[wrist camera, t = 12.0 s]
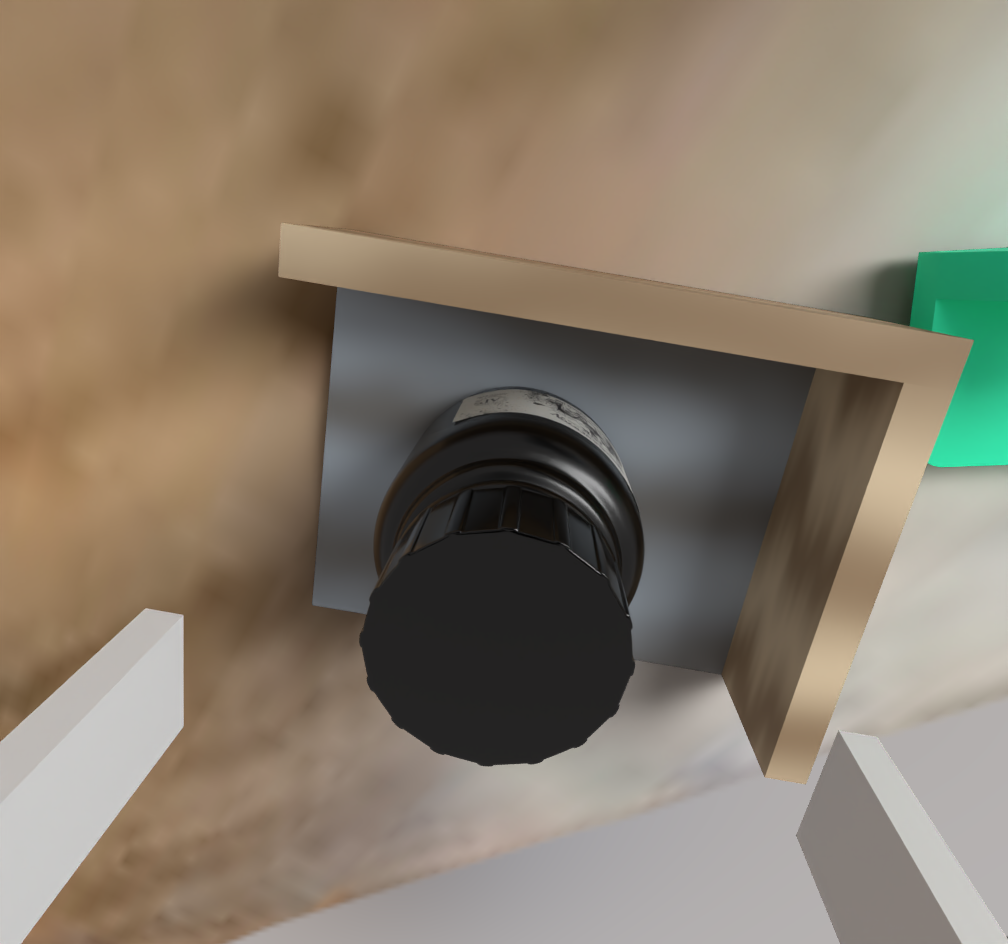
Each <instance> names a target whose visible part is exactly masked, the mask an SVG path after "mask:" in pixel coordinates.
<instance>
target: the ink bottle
mask: <svg viewBox="0 0 1008 944" xmlns="http://www.w3.org/2000/svg"><path fill="white" fill-rule="evenodd" d="M373 553H374V562H375V568H376V572H377V576H378V581H377V583H376V585H375V587H374V589H373V591H372V593H371V595H370V598H369V602H370V604H369V608H368V611H367V615H366V619H365V623H364V627H363V629H362V631H361V633H360V638H359V643H360V646H361V647H362V650H363V656H364V662H365V667H366V671H367V675H368V677H367V683H368V685H369V688H370V689H371V691H373V692H375V694H376V695H377V697H378V699H379V700H380V701H381V703H382V704H383V706H384V707H385V709H386V710H387V711H388V713H389V714H390V716H391V719H392V721H393V722H394V723H395V724H396V725H397V726H398V727H399V728H401V729H404V730H406V731H407V732H408V733H410V734H411V735H413V736H414V737H416V738H417V739H419V740H420V741H422V742H423V743H425V744H426V745H428V746H429V747H430V749H431V750H433V751H434V752H436V753H438V754H442V755H444V754H446V755H450V756H453V757H457V758H460V759H464V760H467V761H471V762H475V763H477V764H479V765H481V766H493V765H505V764H523V763H527V764H537V763H540V762H542V761H543V760H544V759H546V758H549V757H551V756H554V755H557V754H559V753H561V752H564V751H566V750H569V749H571V748H577V747H579V746H581V745H583V744H584V743H585V742H586V741H587V738H588V737H589V736H591V735H592V734H593V733H594V732H595V731H596V730H597V729H598V728H599V727H600V726H601V725H602V724H603V723H604V722H605V721H606V720H607V719H609V718H610V717H613V716H614V715H615V714H616V712H617V711H618V709H619V702H620V700H621V698H622V696H623V693H624V691H625V689H626V686H627V684H628V681H629V678H630V677H631V676H632V675H633V673H634V669H635V661H634V657H633V647H632V633H631V630H632V628H633V624H632V620H631V616H630V612H629V606H630V604H631V602H632V600H633V598H634V596H635V593H636V591H637V588H638V586H639V583H640V579H641V576H642V571H643V565H644V555H645V545H644V534H643V528H642V523H641V519H640V514H639V509H638V506H637V503H636V500H635V498H634V496H633V493H632V490H631V487H630V484H629V482H628V479H627V477H626V474H625V471H624V468H623V465H622V463H621V460H620V458H619V456H618V454H617V452H616V451H615V449H614V447H613V445H612V443H611V442H610V440H609V439H608V437H607V436H606V434H605V433H604V432H603V430H602V429H601V428H600V427H599V425H598V424H597V423H596V422H595V421H594V420H593V419H592V418H591V417H590V416H588V415H587V414H586V413H585V412H584V411H582V410H581V409H580V408H578V407H577V406H575V405H574V404H572V403H571V402H569V401H567V400H565V399H563V398H561V397H559V396H557V395H554V394H552V393H549V392H546V391H543V390H539V389H535V388H530V387H521V386H507V387H498V388H492V389H488V390H485V391H481V392H478V393H476V394H473V395H471V396H469V397H466V398H464V399H463V400H461V401H459V402H457V403H456V404H454V405H452V406H451V407H450V408H448V409H447V410H446V411H444V412H443V413H442V414H441V415H440V416H438V417H437V418H436V419H435V420H434V421H433V422H432V423H431V425H430V426H429V427H428V428H427V429H426V431H425V432H424V433H423V435H422V436H421V438H420V439H419V441H418V442H417V444H416V445H415V447H414V448H413V450H412V452H411V453H410V455H409V456H408V458H407V459H406V461H405V462H404V464H403V466H402V467H401V469H400V470H399V472H398V473H397V475H396V476H395V478H394V480H393V481H392V483H391V485H390V487H389V488H388V490H387V492H386V494H385V496H384V499H383V501H382V503H381V506H380V509H379V512H378V515H377V519H376V524H375V530H374V539H373Z"/></svg>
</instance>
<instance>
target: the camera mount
mask: <svg viewBox="0 0 1008 944" xmlns="http://www.w3.org/2000/svg"><path fill="white" fill-rule="evenodd" d="M910 327H915V328H919V329H924V330H929V331H934V332H938V333H943V334H948V335H952V336H957V337H962V338H966V339H971V340H974V342H973V345H972V347H971V350H970V353H969V355H968V358H967V361H966V363H965V366H964V368H963V371H962V374H961V376H960V379H959V382H958V384H957V387H956V390H955V392H954V395H953V397H952V400H951V403H950V405H949V408H948V411H947V413H946V416H945V419H944V421H943V424H942V426H941V429H940V432H939V434H938V437H937V440H936V442H935V445H934V448H933V450H932V453H931V455H930V458H929V461H928V464H930V465H933V466H937V467H959V466H989V465H1008V248H990V249H972V250H953V251H935V252H919V256H918V264H917V272H916V280H915V288H914V295H913V303H912V311H911V319H910Z"/></svg>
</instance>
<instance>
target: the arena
mask: <svg viewBox="0 0 1008 944" xmlns="http://www.w3.org/2000/svg"><path fill="white" fill-rule="evenodd" d="M278 277H283V278H288V279H294V280H300V281H306V282H312V283H318V284H324V285H330V286H336V287H337V297H336V310H335V323H334V335H333V348H332V361H331V373H330V386H329V398H328V411H327V424H326V436H325V449H324V462H323V474H322V487H321V500H320V512H319V525H318V538H317V550H316V563H315V576H314V588H313V601H312V605H315V606H321V607H326V608H332V609H338V610H344V611H350V612H356V613H362V614H367V611H368V608H369V604H370V602H369V598H370V595H371V593H372V591H373V589H374V587H375V585H376V583H377V581H378V576H377V572H376V568H375V562H374V553H373V539H374V530H375V524H376V519H377V515H378V512H379V509H380V506H381V503H382V501H383V499H384V496H385V494H386V492H387V490H388V488H389V487H390V485H391V483H392V481H393V480H394V478H395V476H396V475H397V473H398V472H399V470H400V469H401V467H402V466H403V464H404V462H405V461H406V459H407V458H408V456H409V455H410V453H411V452H412V450H413V448H414V447H415V445H416V444H417V442H418V441H419V439H420V438H421V436H422V435H423V433H424V432H425V431H426V429H427V428H428V427H429V426H430V425H431V423H432V422H433V421H434V420H435V419H436V418H437V417H438V416H440V415H441V414H442V413H443V412H444V411H446V410H447V409H448V408H450V407H451V406H452V405H454V404H456V403H457V402H459V401H461V400H463V399H464V398H466V397H469V396H471V395H473V394H476V393H478V392H481V391H485V390H488V389H492V388H498V387H507V386H521V387H530V388H535V389H539V390H543V391H546V392H549V393H552V394H554V395H557V396H559V397H561V398H563V399H565V400H567V401H569V402H571V403H572V404H574V405H575V406H577V407H578V408H580V409H581V410H582V411H584V412H585V413H586V414H587V415H588V416H590V417H591V418H592V419H593V420H594V421H595V422H596V423H597V424H598V425H599V427H600V428H601V429H602V430H603V432H604V433H605V434H606V436H607V437H608V439H609V440H610V442H611V443H612V445H613V447H614V449H615V451H616V452H617V454H618V456H619V458H620V460H621V463H622V465H623V468H624V471H625V474H626V477H627V479H628V482H629V484H630V487H631V490H632V493H633V496H634V498H635V500H636V503H637V506H638V509H639V514H640V519H641V523H642V528H643V534H644V545H645V555H644V565H643V571H642V576H641V579H640V583H639V586H638V588H637V591H636V593H635V596H634V598H633V600H632V602H631V604H630V606H629V612H630V616H631V620H632V624H633V628H632V630H631V633H632V647H633V657H634V660H639V661H645V662H651V663H656V664H662V665H668V666H674V667H680V668H686V669H692V670H698V671H704V672H709V673H715V674H721V675H722V677H723V679H724V682H725V684H726V687H727V689H728V691H729V694H730V696H731V698H732V701H733V703H734V706H735V708H736V710H737V713H738V715H739V717H740V720H741V722H742V725H743V727H744V729H745V732H746V734H747V736H748V739H749V741H750V744H751V746H752V748H753V751H754V753H755V756H756V758H757V760H758V763H759V765H760V767H761V770H762V772H763V775H764V777H766V778H772V779H778V780H784V781H790V782H796V783H801V784H806V782H807V780H808V777H809V775H810V772H811V769H812V766H813V764H814V762H815V759H816V756H817V754H818V751H819V748H820V746H821V743H822V740H823V738H824V735H825V732H826V730H827V727H828V725H829V722H830V719H831V717H832V714H833V711H834V709H835V706H836V703H837V701H838V698H839V696H840V693H841V690H842V688H843V685H844V682H845V680H846V677H847V674H848V672H849V669H850V667H851V664H852V661H853V659H854V656H855V653H856V651H857V648H858V645H859V643H860V640H861V638H862V635H863V632H864V630H865V627H866V624H867V622H868V619H869V616H870V614H871V611H872V608H873V606H874V603H875V601H876V598H877V595H878V593H879V590H880V587H881V585H882V582H883V579H884V577H885V574H886V572H887V569H888V566H889V564H890V561H891V558H892V556H893V553H894V550H895V548H896V545H897V543H898V540H899V537H900V535H901V532H902V529H903V527H904V524H905V521H906V519H907V516H908V514H909V511H910V508H911V506H912V503H913V500H914V498H915V495H916V492H917V490H918V487H919V484H920V482H921V479H922V477H923V474H924V471H925V469H926V466H927V463H928V461H929V458H930V455H931V453H932V450H933V448H934V445H935V442H936V440H937V437H938V434H939V432H940V429H941V426H942V424H943V421H944V419H945V416H946V413H947V411H948V408H949V405H950V403H951V400H952V397H953V395H954V392H955V390H956V387H957V384H958V382H959V379H960V376H961V374H962V371H963V368H964V366H965V363H966V361H967V358H968V355H969V353H970V350H971V347H972V345H973V342H974V340H971V339H966V338H962V337H957V336H952V335H948V334H943V333H938V332H934V331H929V330H924V329H919V328H915V327H910V326H905V325H901V324H896V323H891V322H887V321H882V320H877V319H872V318H868V317H863V316H857V315H851V314H845V313H839V312H833V311H828V310H822V309H816V308H810V307H804V306H798V305H792V304H786V303H780V302H774V301H769V300H763V299H757V298H751V297H745V296H739V295H733V294H727V293H721V292H715V291H710V290H704V289H698V288H692V287H686V286H680V285H674V284H668V283H662V282H656V281H651V280H645V279H639V278H633V277H627V276H621V275H615V274H609V273H603V272H597V271H591V270H586V269H580V268H574V267H568V266H562V265H556V264H550V263H544V262H538V261H532V260H527V259H521V258H515V257H509V256H503V255H497V254H491V253H485V252H479V251H473V250H468V249H462V248H456V247H450V246H444V245H438V244H432V243H426V242H420V241H414V240H409V239H403V238H397V237H391V236H385V235H379V234H373V233H367V232H361V231H355V230H350V229H341V228H330V227H320V226H310V225H300V224H290V223H281V232H280V251H279V271H278Z"/></svg>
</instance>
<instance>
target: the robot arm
mask: <svg viewBox="0 0 1008 944" xmlns="http://www.w3.org/2000/svg"><path fill="white" fill-rule="evenodd" d="M183 727H184V695H183V615H181V614H175V613H170V612H164V611H158V610H152V609H147V608H145V609H144V610H143V611H142V612H141V613H140V614H139V615H138V616H137V617H136V618H134V619H133V620H132V621H131V622H130V623H129V624H128V625H127V626H126V627H125V628H124V629H122V630H121V631H120V632H119V633H118V634H117V635H116V636H115V637H114V638H113V639H112V640H111V641H109V642H108V643H107V644H106V645H105V646H104V647H103V648H102V649H101V650H100V651H99V652H97V653H96V654H95V655H94V656H93V657H92V658H91V659H90V660H89V661H88V662H87V663H86V664H84V665H83V666H82V667H81V668H80V669H79V670H78V671H77V672H76V673H75V674H74V675H72V676H71V677H70V678H69V679H68V680H67V681H66V682H65V683H64V684H63V685H62V686H60V687H59V688H58V689H57V690H56V691H55V692H54V693H53V694H52V695H51V696H50V697H49V698H47V699H46V700H45V701H44V702H43V703H42V704H41V705H40V706H39V707H38V708H37V709H35V710H34V711H33V712H32V713H31V714H30V715H29V716H28V717H27V718H26V719H25V720H24V721H22V722H21V723H20V724H19V725H18V726H17V727H16V728H15V729H14V730H13V731H12V732H10V733H9V734H8V735H7V736H6V737H5V738H4V739H3V740H2V741H1V742H0V944H21V943H22V942H23V940H24V939H25V938H26V936H27V935H28V934H29V932H30V931H31V930H32V928H33V927H34V926H35V924H36V923H37V922H38V920H39V919H40V918H41V916H42V915H43V914H44V912H45V911H46V910H47V908H48V907H49V906H50V904H51V903H52V902H53V900H54V899H55V897H56V896H57V895H58V893H59V892H60V891H61V889H62V888H63V887H64V885H65V884H66V883H67V881H68V880H69V879H70V877H71V876H72V875H73V873H74V872H75V871H76V869H77V868H78V867H79V865H80V864H81V863H82V861H83V860H84V859H85V857H86V856H87V855H88V853H89V852H90V851H91V849H92V848H93V847H94V845H95V844H96V843H97V841H98V840H99V839H100V837H101V836H102V835H103V833H104V832H105V831H106V829H107V828H108V827H109V825H110V824H111V823H112V821H113V820H114V819H115V817H116V816H117V815H118V813H119V812H120V811H121V809H122V808H123V807H124V805H125V804H126V803H127V801H128V800H129V799H130V797H131V796H132V795H133V793H134V792H135V791H136V789H137V788H138V787H139V785H140V784H141V783H142V781H143V780H144V779H145V777H146V776H147V775H148V773H149V772H150V771H151V769H152V768H153V767H154V765H155V764H156V763H157V761H158V760H159V759H160V757H161V756H162V755H163V753H164V752H165V751H166V749H167V748H168V747H169V745H170V744H171V743H172V741H173V740H174V739H175V737H176V736H177V735H178V733H179V732H180V731H181V729H182V728H183ZM796 836H797V839H798V841H799V843H800V846H801V848H802V851H803V853H804V855H805V858H806V861H807V863H808V865H809V868H810V870H811V873H812V875H813V878H814V880H815V883H816V885H817V888H818V890H819V893H820V895H821V898H822V900H823V903H824V905H825V907H826V910H827V912H828V915H829V917H830V920H831V922H832V925H833V927H834V930H835V932H836V934H837V937H838V939H839V942H840V944H1008V937H1007V936H1006V935H1005V934H1004V932H1003V931H1002V929H1001V928H1000V926H999V925H998V923H997V922H996V920H995V918H994V917H993V915H992V914H991V912H990V911H989V909H988V908H987V906H986V904H985V903H984V901H983V900H982V898H981V897H980V895H979V894H978V892H977V891H976V889H975V888H974V886H973V884H972V883H971V881H970V880H969V878H968V877H967V875H966V874H965V872H964V871H963V869H962V867H961V866H960V864H959V863H958V861H957V860H956V858H955V857H954V855H953V853H952V852H951V850H950V849H949V847H948V846H947V844H946V843H945V841H944V840H943V838H942V837H941V835H940V833H939V832H938V830H937V829H936V827H935V826H934V824H933V823H932V821H931V819H930V818H929V816H928V815H927V813H926V812H925V810H924V809H923V807H922V806H921V804H920V802H919V801H918V799H917V798H916V796H915V795H914V793H913V792H912V790H911V789H910V787H909V785H908V784H907V782H906V781H905V779H904V778H903V776H902V775H901V773H900V772H899V770H898V769H897V767H896V765H895V764H894V762H893V761H892V759H891V758H890V756H889V755H888V753H887V751H886V750H885V748H884V747H883V745H882V744H881V742H880V741H879V739H878V738H877V737H874V736H868V735H863V734H857V733H851V732H846V731H840V730H838V733H837V735H836V738H835V740H834V743H833V745H832V748H831V750H830V753H829V755H828V758H827V760H826V763H825V765H824V768H823V770H822V773H821V775H820V778H819V780H818V783H817V785H816V787H815V790H814V792H813V795H812V798H811V800H810V803H809V805H808V807H807V810H806V812H805V815H804V817H803V820H802V822H801V825H800V828H799V830H798V832H797V835H796Z"/></svg>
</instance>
